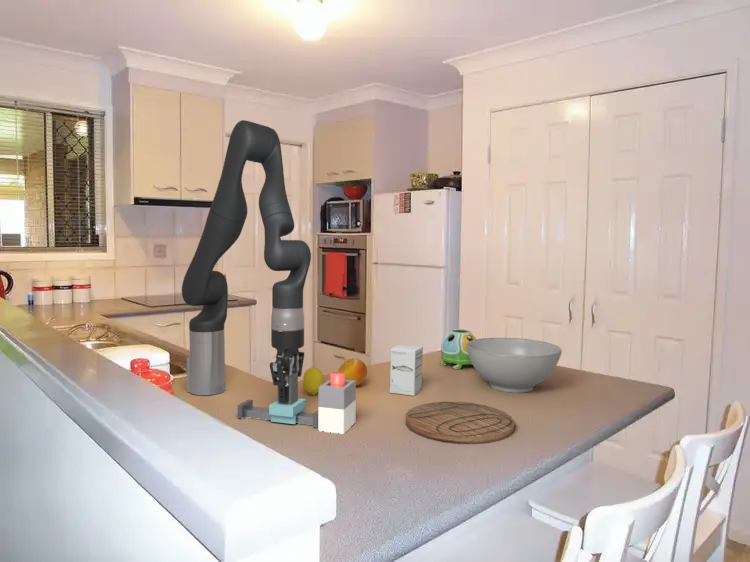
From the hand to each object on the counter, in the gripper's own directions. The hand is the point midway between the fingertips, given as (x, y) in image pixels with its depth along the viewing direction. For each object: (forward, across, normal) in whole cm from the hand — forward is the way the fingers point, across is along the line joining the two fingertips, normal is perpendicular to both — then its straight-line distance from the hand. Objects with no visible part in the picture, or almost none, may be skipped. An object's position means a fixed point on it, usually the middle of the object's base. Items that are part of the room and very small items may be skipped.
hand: (287, 399), depth 130 cm
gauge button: (-1, 0, +12) cm, 12 cm away
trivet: (+6, -11, +38) cm, 40 cm away
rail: (+5, 0, -2) cm, 5 cm away
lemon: (+5, -21, -3) cm, 22 cm away
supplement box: (+5, -33, +20) cm, 39 cm away
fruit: (+5, -33, +4) cm, 34 cm away
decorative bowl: (+5, -48, +48) cm, 68 cm away
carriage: (+5, 0, 0) cm, 5 cm away
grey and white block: (+5, 0, +12) cm, 13 cm away
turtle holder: (+5, -69, +31) cm, 76 cm away
